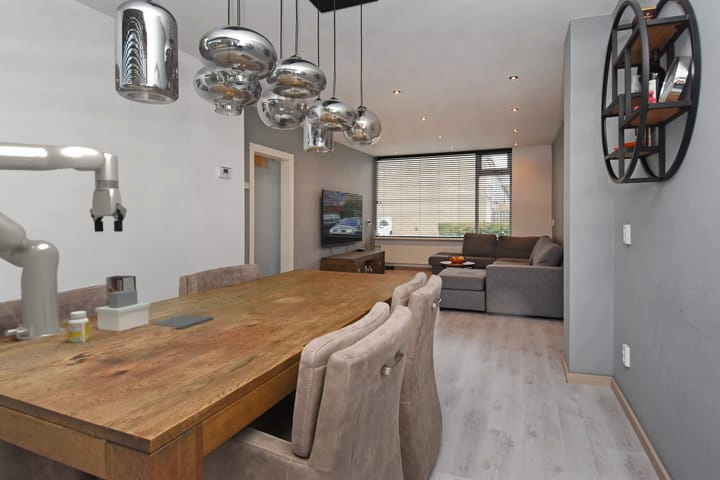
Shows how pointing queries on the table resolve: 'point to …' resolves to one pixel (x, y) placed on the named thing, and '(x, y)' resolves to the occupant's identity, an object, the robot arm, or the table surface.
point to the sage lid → (122, 302)
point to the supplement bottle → (78, 327)
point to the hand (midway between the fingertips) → (108, 231)
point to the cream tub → (123, 319)
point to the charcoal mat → (183, 321)
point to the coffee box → (120, 284)
